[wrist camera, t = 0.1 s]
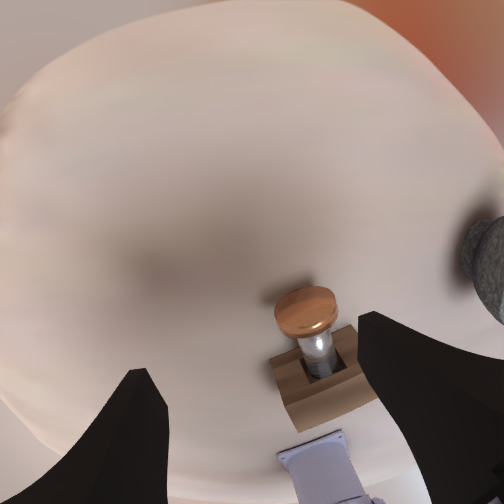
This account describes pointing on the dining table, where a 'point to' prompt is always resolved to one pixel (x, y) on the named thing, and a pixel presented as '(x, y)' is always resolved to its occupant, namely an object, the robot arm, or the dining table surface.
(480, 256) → the mortar and pestle
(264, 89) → the dining table surface
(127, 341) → the dining table surface
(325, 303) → the pin
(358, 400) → the block
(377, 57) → the dining table surface
